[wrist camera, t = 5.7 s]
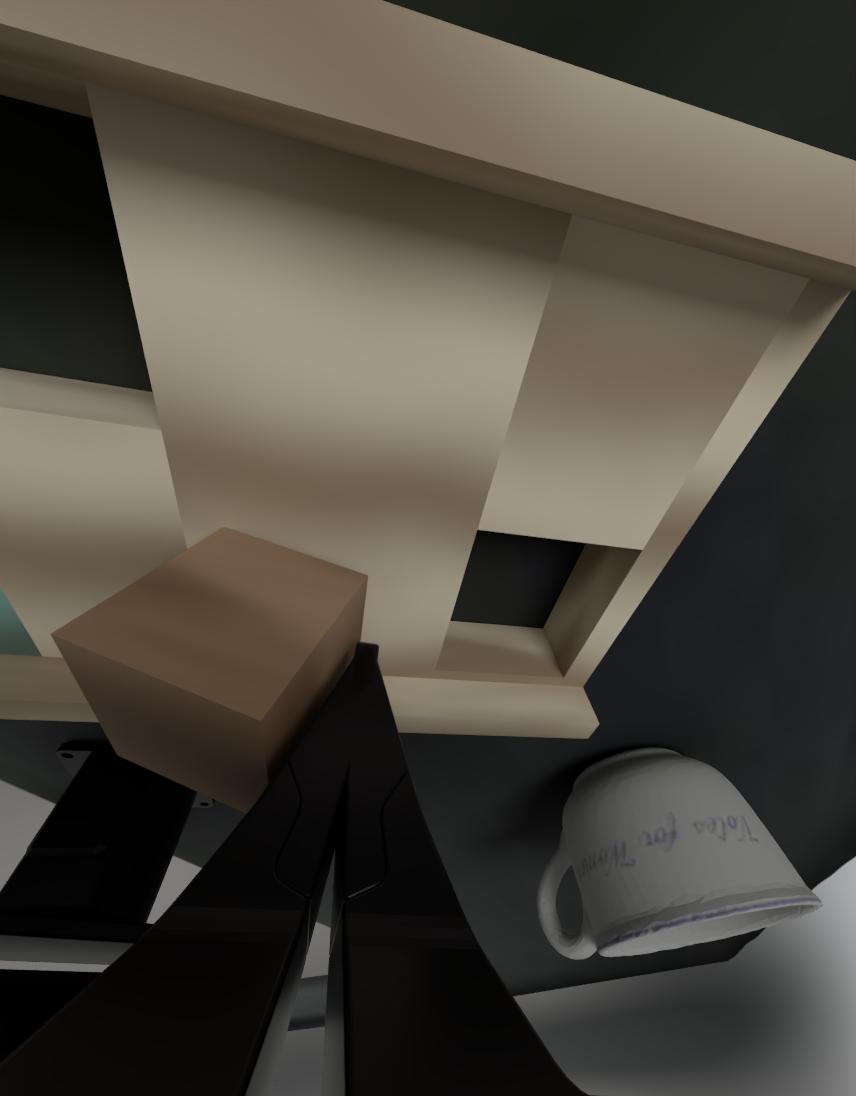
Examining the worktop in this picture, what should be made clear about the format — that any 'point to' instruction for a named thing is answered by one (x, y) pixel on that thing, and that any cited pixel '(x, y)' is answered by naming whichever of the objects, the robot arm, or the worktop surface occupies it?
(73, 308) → the worktop surface
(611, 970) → the worktop surface
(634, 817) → the teacup
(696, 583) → the worktop surface
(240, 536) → the walnut block
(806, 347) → the track
